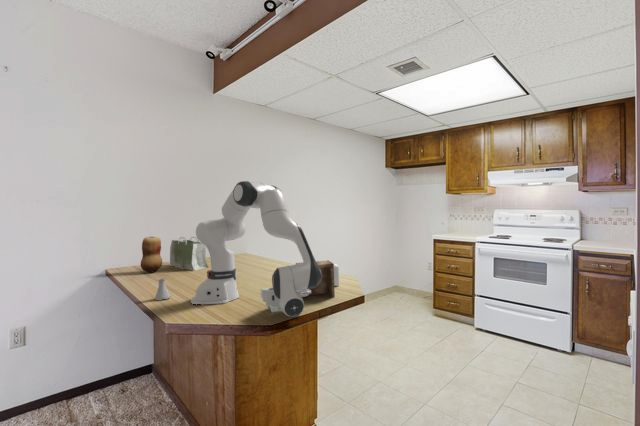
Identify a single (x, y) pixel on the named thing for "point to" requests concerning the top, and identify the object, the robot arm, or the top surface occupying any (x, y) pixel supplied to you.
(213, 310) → the top surface
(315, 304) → the top surface
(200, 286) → the robot arm
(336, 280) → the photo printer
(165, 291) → the flask
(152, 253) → the butternut squash
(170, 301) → the top surface
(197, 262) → the grocery bag
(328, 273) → the shelf cubby
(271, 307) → the plate
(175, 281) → the top surface
